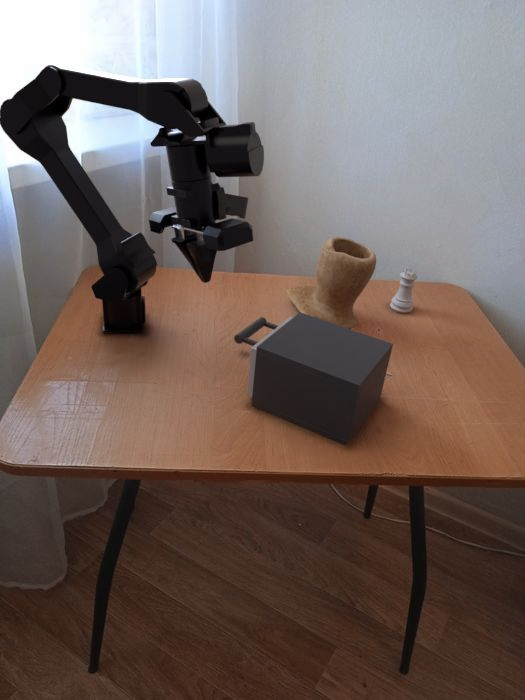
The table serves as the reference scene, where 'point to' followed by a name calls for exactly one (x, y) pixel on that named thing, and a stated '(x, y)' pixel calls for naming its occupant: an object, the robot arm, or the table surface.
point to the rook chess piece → (404, 292)
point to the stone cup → (336, 282)
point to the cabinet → (320, 376)
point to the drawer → (255, 344)
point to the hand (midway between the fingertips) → (206, 281)
